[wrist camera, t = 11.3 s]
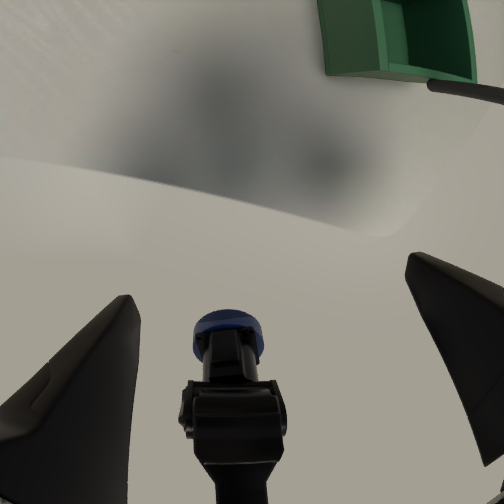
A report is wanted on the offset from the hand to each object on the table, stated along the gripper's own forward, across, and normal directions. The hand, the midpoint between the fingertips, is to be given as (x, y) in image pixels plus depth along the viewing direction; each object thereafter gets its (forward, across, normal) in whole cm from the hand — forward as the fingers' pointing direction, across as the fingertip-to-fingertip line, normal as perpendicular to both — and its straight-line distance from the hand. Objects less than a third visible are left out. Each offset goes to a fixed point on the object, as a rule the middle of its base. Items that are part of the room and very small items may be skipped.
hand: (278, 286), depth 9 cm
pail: (+6, -6, -10) cm, 13 cm away
